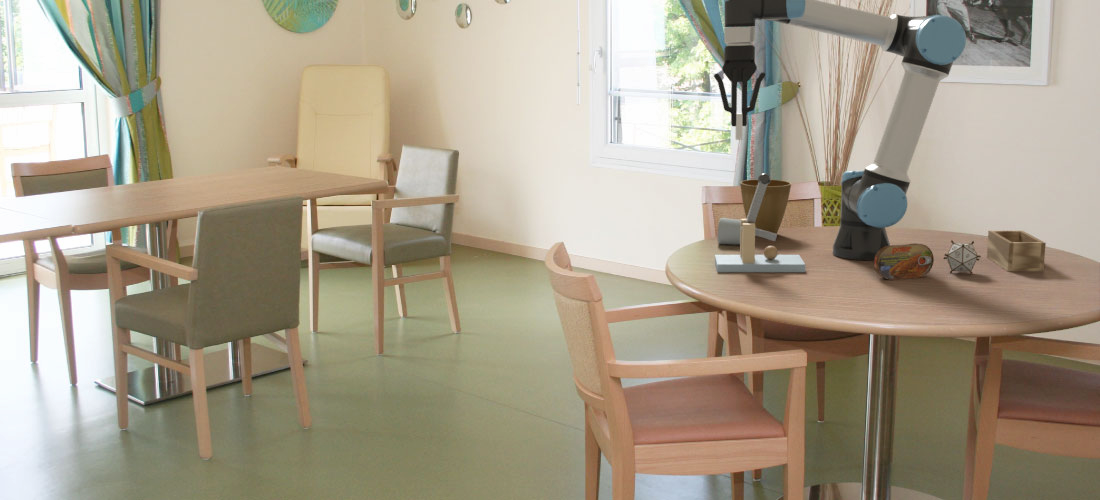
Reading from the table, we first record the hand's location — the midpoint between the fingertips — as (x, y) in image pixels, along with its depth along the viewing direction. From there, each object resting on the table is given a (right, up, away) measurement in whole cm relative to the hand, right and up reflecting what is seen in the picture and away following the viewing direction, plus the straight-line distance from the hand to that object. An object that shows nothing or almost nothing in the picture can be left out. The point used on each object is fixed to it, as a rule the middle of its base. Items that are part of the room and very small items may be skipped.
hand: (738, 139), depth 262 cm
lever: (+6, -25, +5) cm, 26 cm away
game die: (+54, -34, -5) cm, 64 cm away
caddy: (+71, -32, +3) cm, 78 cm away
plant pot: (+17, -24, +49) cm, 57 cm away
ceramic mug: (+5, -27, +37) cm, 46 cm away
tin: (+39, -35, -9) cm, 53 cm away
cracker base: (+6, -33, +6) cm, 34 cm away
